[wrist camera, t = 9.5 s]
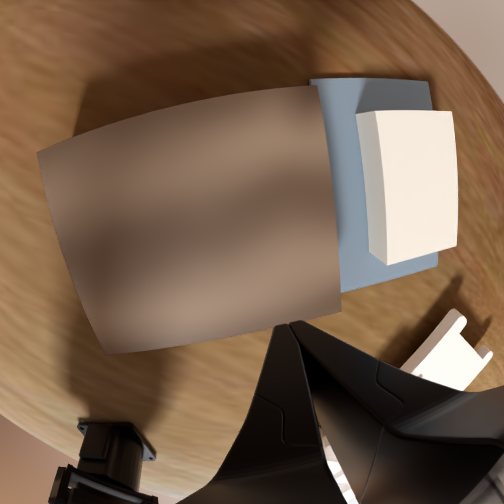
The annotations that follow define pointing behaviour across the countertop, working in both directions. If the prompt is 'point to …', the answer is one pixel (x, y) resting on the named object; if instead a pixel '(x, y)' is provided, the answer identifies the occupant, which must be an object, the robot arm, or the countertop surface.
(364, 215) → the mat
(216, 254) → the taupe square box
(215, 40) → the countertop surface
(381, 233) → the card box
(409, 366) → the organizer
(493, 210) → the countertop surface
